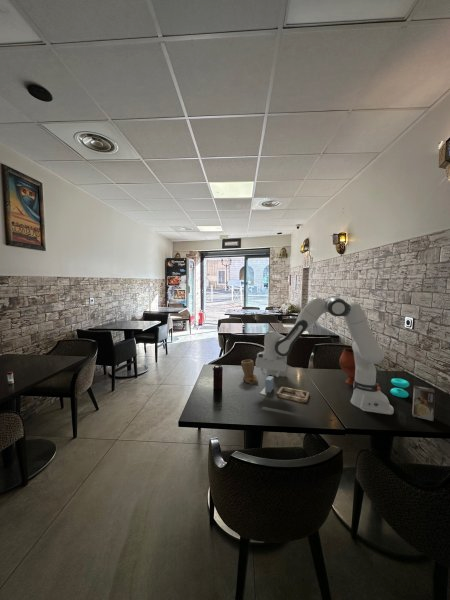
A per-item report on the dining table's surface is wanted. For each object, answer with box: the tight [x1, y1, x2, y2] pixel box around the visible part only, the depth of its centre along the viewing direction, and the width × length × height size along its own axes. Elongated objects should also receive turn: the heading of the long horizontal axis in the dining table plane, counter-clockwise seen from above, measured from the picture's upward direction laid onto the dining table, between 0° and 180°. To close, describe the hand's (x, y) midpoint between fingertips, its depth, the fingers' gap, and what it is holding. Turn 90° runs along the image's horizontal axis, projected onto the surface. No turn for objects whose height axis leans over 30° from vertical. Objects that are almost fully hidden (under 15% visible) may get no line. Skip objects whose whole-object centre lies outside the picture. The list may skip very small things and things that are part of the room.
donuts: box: [389, 378, 410, 399], centre depth 169 cm, size 10×10×10 cm
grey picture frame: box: [411, 385, 436, 422], centre depth 141 cm, size 9×6×16 cm
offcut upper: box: [294, 392, 306, 398], centre depth 159 cm, size 4×6×2 cm
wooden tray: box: [276, 386, 310, 404], centre depth 161 cm, size 18×12×4 cm, turn 63°
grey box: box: [266, 354, 288, 377], centre depth 200 cm, size 14×6×30 cm, turn 84°
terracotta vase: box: [338, 347, 355, 386], centre depth 186 cm, size 19×19×25 cm
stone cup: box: [241, 359, 259, 385], centre depth 187 cm, size 15×12×15 cm
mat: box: [259, 387, 268, 396], centre depth 169 cm, size 9×12×1 cm
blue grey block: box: [264, 375, 275, 394], centre depth 168 cm, size 4×7×9 cm, turn 153°
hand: (270, 375), depth 168 cm, fingers open, 8 cm apart
